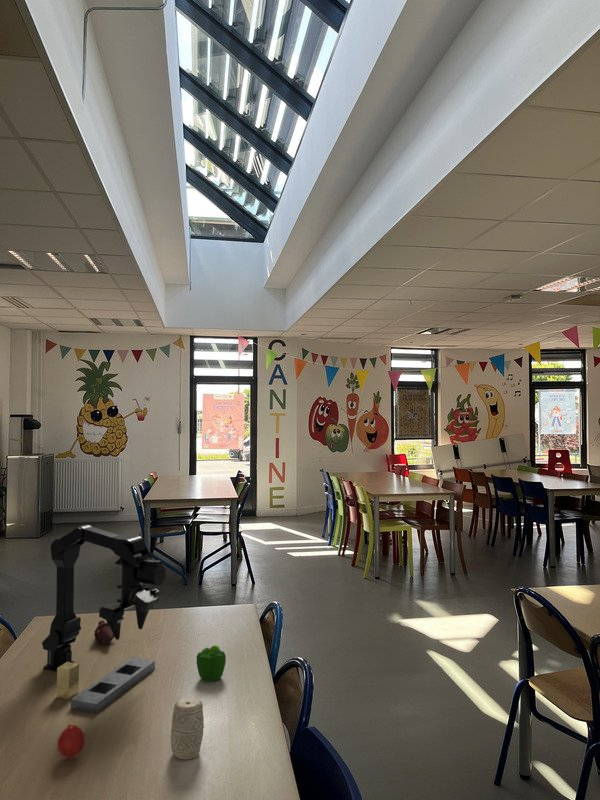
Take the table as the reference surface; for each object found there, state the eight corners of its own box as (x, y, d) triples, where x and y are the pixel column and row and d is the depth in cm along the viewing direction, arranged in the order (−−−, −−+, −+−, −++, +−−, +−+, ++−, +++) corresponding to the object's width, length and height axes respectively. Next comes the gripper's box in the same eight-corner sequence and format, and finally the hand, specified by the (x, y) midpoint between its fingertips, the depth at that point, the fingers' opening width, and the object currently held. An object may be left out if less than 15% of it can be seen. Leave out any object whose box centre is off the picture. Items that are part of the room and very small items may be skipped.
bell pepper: (191, 676, 170) (192, 643, 170) (215, 669, 175) (216, 636, 175) (204, 687, 163) (205, 652, 164) (229, 680, 168) (230, 645, 169)
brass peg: (56, 696, 157) (57, 667, 157) (66, 690, 161) (67, 661, 161) (68, 699, 156) (69, 669, 156) (78, 692, 160) (79, 663, 160)
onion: (62, 751, 132) (62, 716, 132) (87, 750, 132) (88, 715, 132) (53, 766, 126) (54, 730, 126) (80, 765, 126) (80, 729, 127)
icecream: (124, 628, 191) (111, 618, 204) (102, 626, 187) (91, 617, 200) (119, 650, 190) (107, 639, 202) (97, 648, 186) (86, 637, 198)
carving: (204, 760, 129) (204, 706, 129) (169, 764, 127) (171, 710, 128) (202, 744, 135) (203, 693, 135) (170, 748, 134) (171, 696, 134)
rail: (70, 708, 151) (70, 699, 151) (132, 665, 177) (132, 657, 177) (96, 713, 148) (96, 704, 148) (154, 668, 175) (154, 660, 175)
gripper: (127, 593, 155) (126, 651, 155) (173, 577, 172) (171, 629, 171) (98, 587, 160) (96, 642, 160) (145, 571, 177) (143, 622, 176)
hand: (129, 634), depth 167 cm, fingers open, 9 cm apart
